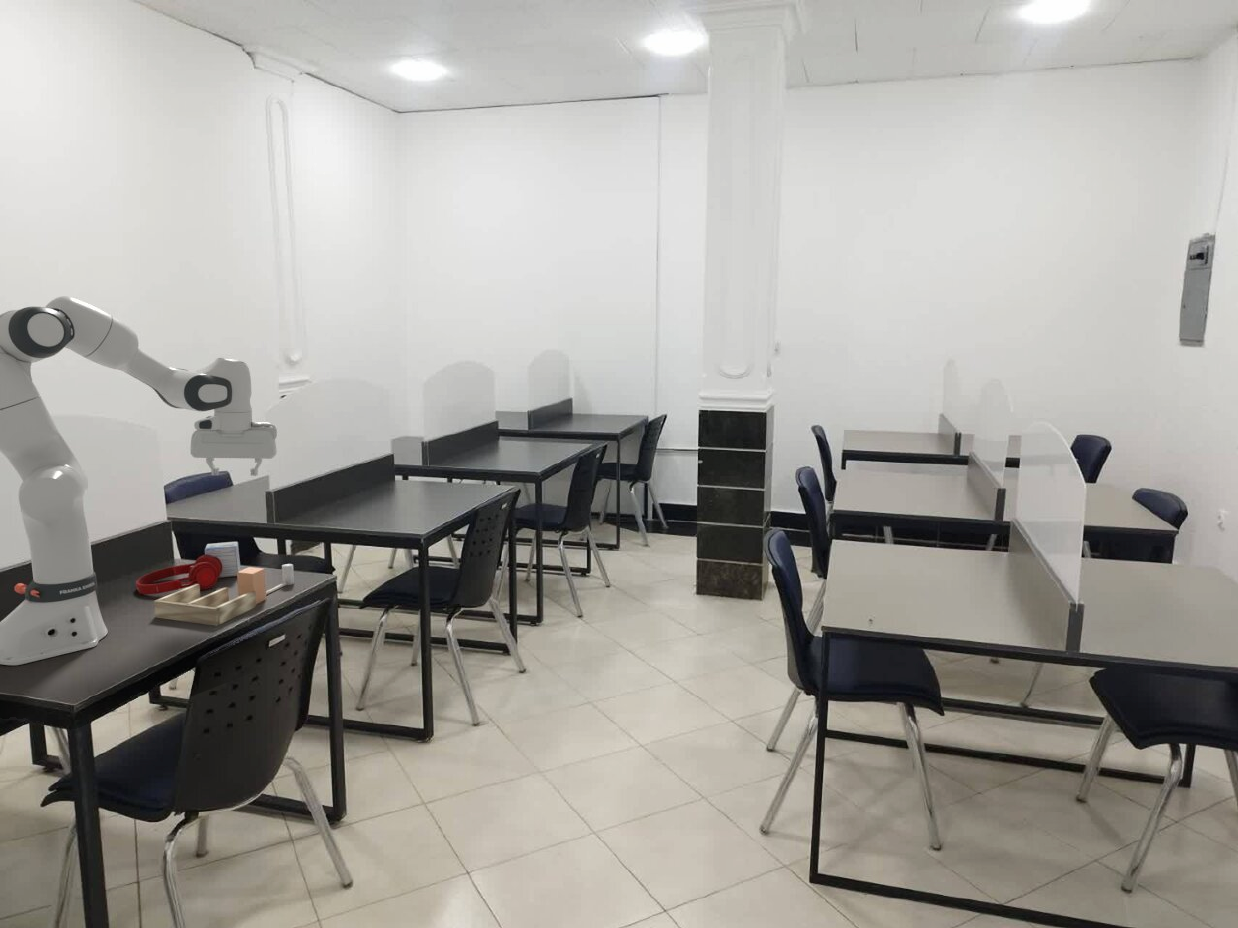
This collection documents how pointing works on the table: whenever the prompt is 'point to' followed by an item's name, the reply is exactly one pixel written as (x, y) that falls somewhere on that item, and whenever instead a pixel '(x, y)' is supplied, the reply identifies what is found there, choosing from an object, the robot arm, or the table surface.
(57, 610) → the robot arm
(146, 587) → the headphones
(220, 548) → the medicine box
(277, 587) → the block
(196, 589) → the lane shelf
